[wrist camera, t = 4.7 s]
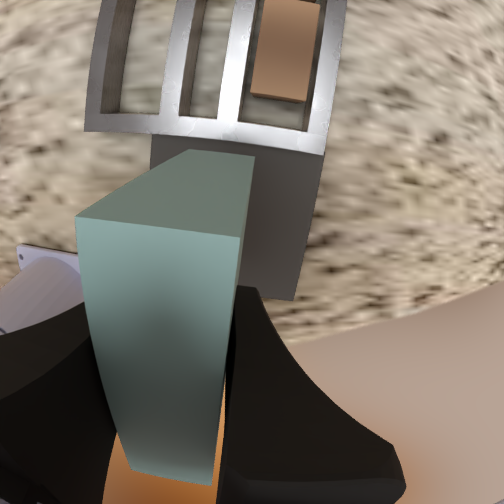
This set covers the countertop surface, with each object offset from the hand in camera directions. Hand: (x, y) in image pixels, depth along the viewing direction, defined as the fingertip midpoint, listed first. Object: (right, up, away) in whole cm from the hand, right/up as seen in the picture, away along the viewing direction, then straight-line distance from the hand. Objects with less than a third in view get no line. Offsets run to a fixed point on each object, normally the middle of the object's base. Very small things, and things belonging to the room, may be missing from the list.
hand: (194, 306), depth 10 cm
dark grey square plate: (0, +4, +10) cm, 10 cm away
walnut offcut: (+3, +13, +6) cm, 14 cm away
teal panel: (0, +2, +3) cm, 4 cm away
